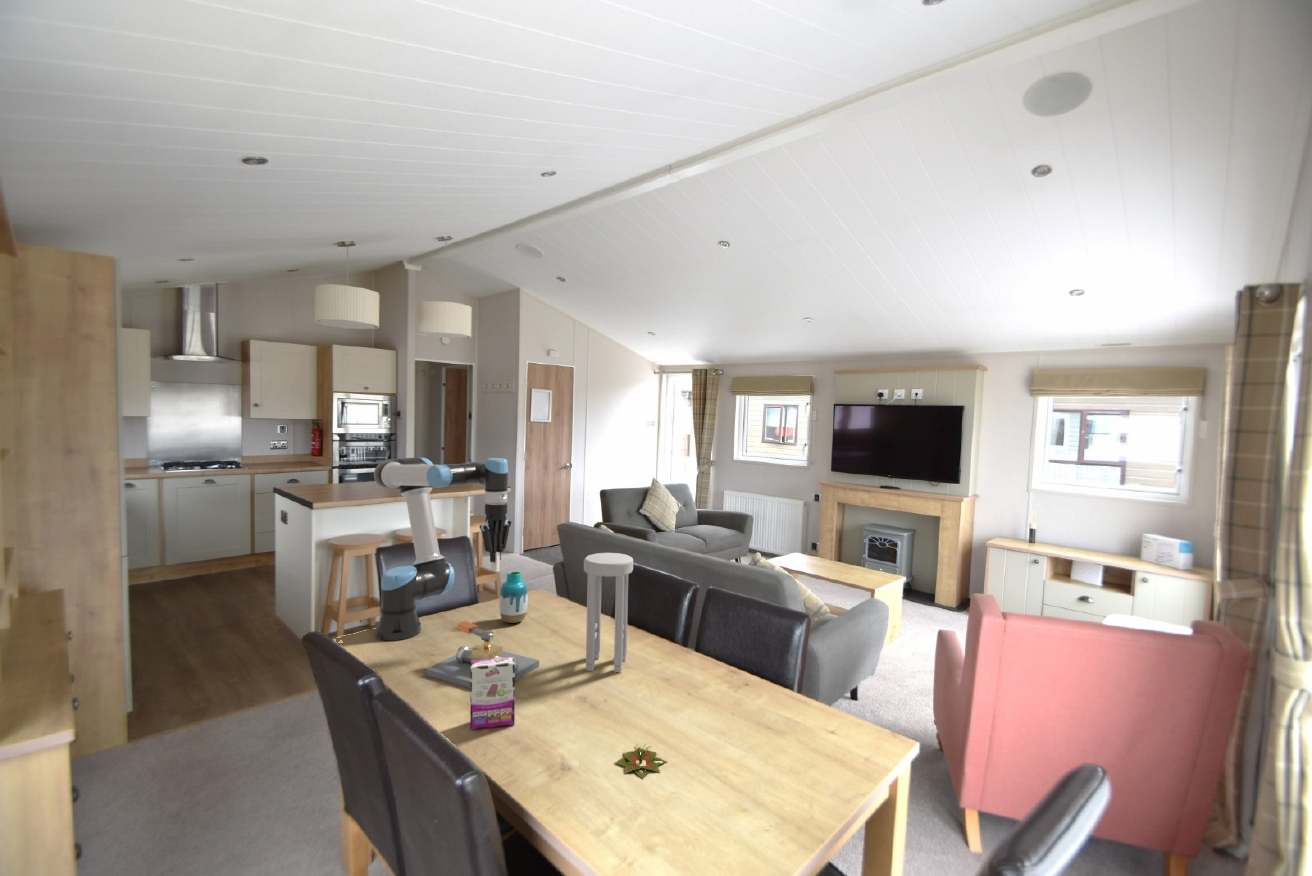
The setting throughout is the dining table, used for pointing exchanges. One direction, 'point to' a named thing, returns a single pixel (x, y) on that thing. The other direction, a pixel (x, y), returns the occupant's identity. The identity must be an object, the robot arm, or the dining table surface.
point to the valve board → (461, 671)
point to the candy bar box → (492, 693)
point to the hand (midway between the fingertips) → (495, 570)
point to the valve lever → (475, 630)
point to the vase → (513, 598)
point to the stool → (595, 569)
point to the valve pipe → (481, 653)
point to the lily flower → (640, 761)
